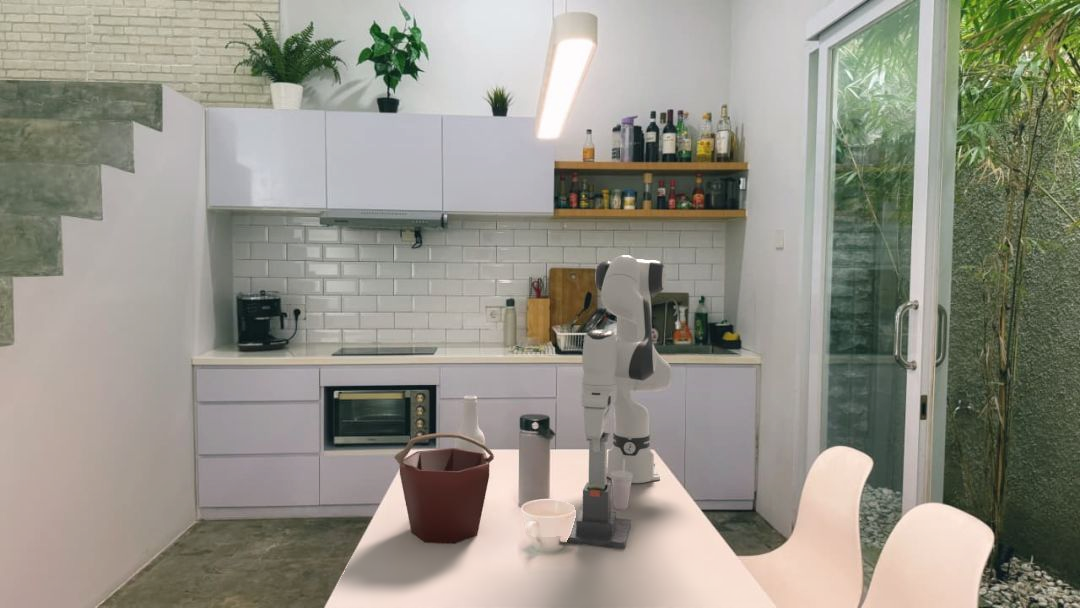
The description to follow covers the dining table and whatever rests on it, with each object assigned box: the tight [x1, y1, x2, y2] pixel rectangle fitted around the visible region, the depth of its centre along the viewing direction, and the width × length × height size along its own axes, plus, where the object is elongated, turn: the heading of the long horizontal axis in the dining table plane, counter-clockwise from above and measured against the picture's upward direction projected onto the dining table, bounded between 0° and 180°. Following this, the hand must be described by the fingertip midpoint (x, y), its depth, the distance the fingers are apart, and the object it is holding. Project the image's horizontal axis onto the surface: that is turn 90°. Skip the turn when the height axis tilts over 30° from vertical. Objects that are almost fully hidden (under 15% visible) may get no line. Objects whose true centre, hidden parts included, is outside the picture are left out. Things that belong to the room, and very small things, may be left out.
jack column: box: [586, 432, 611, 491], centre depth 174 cm, size 5×5×18 cm
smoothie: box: [610, 459, 633, 511], centre depth 194 cm, size 6×6×14 cm
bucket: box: [394, 432, 495, 545], centre depth 175 cm, size 24×22×25 cm
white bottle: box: [454, 395, 486, 453], centre depth 200 cm, size 9×9×30 cm
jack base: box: [566, 481, 632, 550], centre depth 175 cm, size 16×16×12 cm
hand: (598, 448), depth 174 cm, fingers closed on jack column, 4 cm apart
